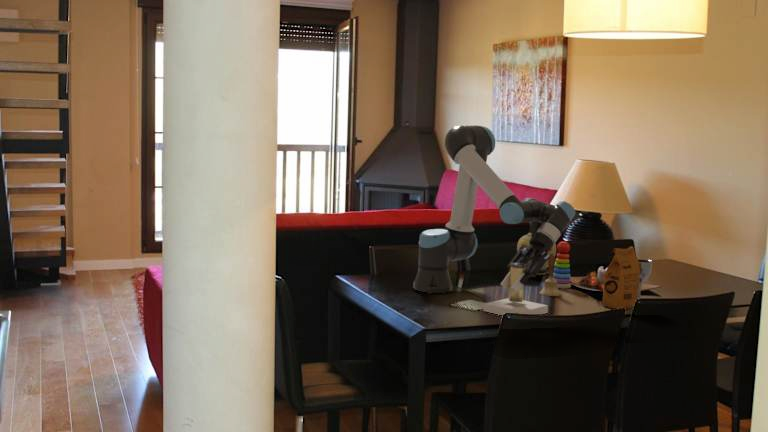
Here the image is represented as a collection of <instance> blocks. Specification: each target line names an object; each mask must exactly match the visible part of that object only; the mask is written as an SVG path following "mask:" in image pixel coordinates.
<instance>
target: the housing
mask: <svg viewBox="0 0 768 432" xmlns="http://www.w3.org/2000/svg"><path fill="white" fill-rule="evenodd" d="M483 303H484V304H483V310H482V312H483V311H487V312H490V313H494V314H498V315H497V316H499V315H502V314H503V313H519V314H545V313H549V312H548V311H549V309H548V308H549V305H547V304H542V303H538V302H534V301H530V300H525V299H523V302H511V301H509V297H507V298H503V299H498V300H494V301H488V302H483ZM490 313H489V314H490ZM494 314H493V315H494ZM545 315H546V314H545Z"/></svg>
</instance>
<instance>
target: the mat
mask: <svg viewBox="0 0 768 432" xmlns="http://www.w3.org/2000/svg"><path fill="white" fill-rule="evenodd" d="M458 303H459V305H460V304H461V305H462V306H463V307H465V308H467V306H468V308H469V309H471V308H473V309H474V310H475V309H476V310H477V309H483V304H484V303H485V302H482V301H477V300H473V299H466V300H462V301H457V304H458ZM465 303H466V305H467V306H466V305H463V304H465ZM471 304H472V305H471ZM461 305H460V306H461ZM462 306H461V307H462ZM470 307H471V308H470Z"/></svg>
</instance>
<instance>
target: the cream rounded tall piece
mask: <svg viewBox="0 0 768 432" xmlns="http://www.w3.org/2000/svg"><path fill="white" fill-rule="evenodd" d="M528 223H529V225H530V229H529V232H528V233H527V234H525V235H523V236H521V237H520V238H519V239H518V241H517V245H516V246H517V247H516V250H517V251H516V252H518V251H519V248H520V247H523V248H527V246H529V245H530V243H531V239H532V238H533V236H534V235H535V233H537V231H538V229H539V228H540V227H541V225H542V224H543V223H540V222H536V221H533V222H528ZM550 253H553V254H554V258H556V255H557V243H556V242H555V243H554V244H553V247H552V248H551V249H550V251H549V252H548V254H549V256H550ZM527 258H528V257H527ZM529 262H530V261H529ZM529 262H526V263H525V269H526V268H527V266H528V264H529ZM547 268H548V269H549V266H548V260H547V261H546V262H545V264H544V265H543V266H542V268H541V269H540V271H539V272H538V274H537V275H536V276H540V275H542V276H543V275H546V274H547Z"/></svg>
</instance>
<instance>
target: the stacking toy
mask: <svg viewBox="0 0 768 432" xmlns="http://www.w3.org/2000/svg"><path fill="white" fill-rule="evenodd" d="M556 250H557V251H558V252H557V253H556V257H555V265H554V269H553V279H554V280H556V281H557V288H558V289H561V290H562V289H564V290H565V289H571V287H572V283H571V277H572V276H571V273H570V272H571V269H570V267H571V264H570V259H569V258H570V254H569V252H570V250H571V245H570V243H569V242H567V241H563V240H562V241H560V242H558V244H557V245H556Z"/></svg>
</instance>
